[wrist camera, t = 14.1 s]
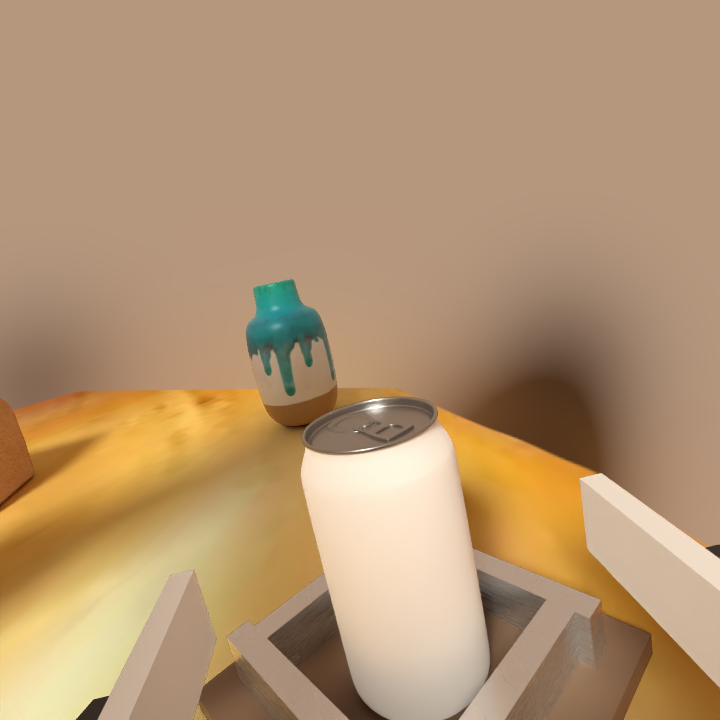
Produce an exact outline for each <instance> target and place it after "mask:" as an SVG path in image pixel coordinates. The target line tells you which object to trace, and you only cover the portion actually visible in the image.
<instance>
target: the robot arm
mask: <svg viewBox="0 0 720 720" xmlns="http://www.w3.org/2000/svg"><path fill="white" fill-rule="evenodd" d="M580 487H581V496H582V505H583V514H584V523H585V532H586V541H587V549H588V550H589V552H590V553H591V554H592V555H593V556H594V557H595V558H596V559H597V560H598V561H599V562H600V563H601V564H602V565H603V566H604V567H605V568H606V569H607V570H608V571H609V572H610V574H611V575H612V576H613V577H614V578H615V579H616V580H617V581H618V582H619V583H620V584H621V585H622V586H623V587H624V588H625V589H626V590H627V591H628V592H629V593H630V594H631V596H632V597H633V598H634V599H635V600H636V601H637V602H638V603H639V604H640V605H641V606H642V607H643V608H644V609H645V610H646V611H647V612H648V613H649V614H650V615H651V616H652V618H653V619H654V620H655V621H656V622H657V623H658V624H659V625H660V626H661V627H662V628H663V629H664V630H665V631H666V632H667V633H668V634H669V635H670V636H671V637H672V638H673V640H674V641H675V642H676V643H677V644H678V645H679V646H680V647H681V648H682V649H683V650H684V651H685V652H686V653H687V654H688V655H689V656H690V657H691V658H692V659H693V660H694V662H695V663H696V664H697V665H698V666H699V667H700V668H701V669H702V670H703V671H704V672H705V673H706V674H707V675H708V676H709V677H710V678H711V679H712V680H713V681H714V682H715V684H716V685H717V686H718V687H719V688H720V545H715V546H711V547H707V548H704V547H703V546H701V545H700V544H699V543H697V542H696V541H694V540H693V539H692V538H690V537H689V536H688V535H686V534H685V533H683V532H682V531H681V530H679V529H678V528H676V527H675V526H674V525H672V524H671V523H669V522H668V521H667V520H665V519H664V518H663V517H661V516H660V515H658V514H657V513H655V512H654V511H653V510H651V509H650V508H649V507H647V506H646V505H645V504H643V503H642V502H640V501H639V500H638V499H636V498H635V497H633V496H632V495H631V494H629V493H628V492H627V491H625V490H624V489H622V488H621V487H620V486H618V485H617V484H615V483H614V482H613V481H611V480H610V479H609V478H607V477H606V476H604V475H603V474H601V473H600V474H596V475H592V476H587V477H583V478H580ZM216 640H217V639H216V636H215V633H214V630H213V627H212V624H211V621H210V617H209V614H208V611H207V608H206V605H205V602H204V599H203V596H202V593H201V590H200V587H199V584H198V581H197V578H196V575H195V572H194V570H190V571H186V572H182V573H177V574H173V575H170V577H169V579H168V581H167V583H166V585H165V587H164V589H163V591H162V593H161V595H160V597H159V599H158V601H157V603H156V605H155V607H154V609H153V611H152V613H151V615H150V617H149V619H148V621H147V623H146V625H145V627H144V629H143V631H142V633H141V635H140V636H139V638H138V640H137V642H136V644H135V646H134V648H133V650H132V652H131V654H130V656H129V658H128V660H127V662H126V664H125V666H124V668H123V670H122V672H121V674H120V676H119V678H118V680H117V682H116V684H115V686H114V688H113V690H112V692H111V694H110V696H106V697H102V698H98V699H94V700H93V701H92V702H91V703H90V704H89V705H88V706H87V708H86V709H85V710H84V711H83V712H82V713H81V714H80V716H79V717H78V718H77V719H76V720H194V716H195V713H196V709H197V706H198V702H199V699H200V696H201V692H202V689H203V685H204V682H205V678H206V675H207V671H208V668H209V665H210V661H211V658H212V654H213V651H214V647H215V644H216Z"/></svg>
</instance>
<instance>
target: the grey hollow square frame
mask: <svg viewBox="0 0 720 720" xmlns="http://www.w3.org/2000/svg"><path fill="white" fill-rule="evenodd" d="M473 553H474V559H475V565H476V570H477V576H478V582H479V588H480V593H481V599H482V605H483V611H485V612H487V613H489V614H491V615H493V616H495V617H497V618H499V619H500V620H502V621H504V622H506V623H508V624H510V625H512V626H514V627H516V628H518V629H520V630H522V631H523V632H522V634H521V635H520V636H519V638H518V639H517V641H516V642H515V643H514V645H513V646H512V647H511V649H510V650H509V652H508V653H507V654H506V656H505V657H504V658H503V660H502V661H501V662H500V664H499V665H498V667H497V668H496V669H495V671H494V672H493V673H492V675H491V676H490V678H489V679H488V680H487V682H486V683H485V684H484V686H483V687H482V689H481V690H480V691H479V693H478V694H477V695H476V697H475V698H474V699H473V701H472V702H471V704H470V705H469V706H468V708H467V709H466V710H465V712H464V713H463V715H462V716H461V717H460V719H459V720H547V719H548V717H549V715H550V713H551V712H552V710H553V708H554V706H555V705H556V703H557V701H558V699H559V698H560V696H561V694H562V693H563V691H564V689H565V687H566V686H567V684H568V682H569V680H570V679H571V677H572V675H573V673H574V672H575V670H576V668H577V666H578V665H579V663H580V661H582V662H584V663H586V664H588V665H590V666H592V667H593V668H595V669H596V667H597V665H598V663H599V661H600V659H601V657H602V656H603V654H604V652H605V650H606V641H605V632H604V623H603V613H602V604H601V600H600V599H597V598H595V597H593V596H590V595H588V594H585V593H583V592H580V591H578V590H575V589H573V588H570V587H568V586H565V585H563V584H560V583H558V582H555V581H553V580H550V579H548V578H545V577H543V576H540V575H538V574H535V573H533V572H530V571H528V570H525V569H523V568H521V567H518V566H516V565H513V564H511V563H508V562H506V561H503V560H501V559H498V558H496V557H493V556H491V555H488V554H486V553H483V552H481V551H478V550H476V549H473ZM338 630H339V628H338V624H337V620H336V616H335V612H334V609H333V605H332V601H331V597H330V593H329V589H328V585H327V581H326V578H325V574H324V573H323V574H322V575H320V576H319V577H318V578H317V579H315V580H314V581H313V582H311V583H310V584H309V585H307V586H306V587H305V588H303V589H302V590H301V591H299V592H298V593H297V594H296V595H294V596H293V597H292V598H290V599H289V600H288V601H286V602H285V603H284V604H282V605H281V606H280V607H279V608H277V609H276V610H275V611H273V612H272V613H271V614H269V615H268V616H267V617H265V618H264V619H263V620H261V621H260V622H259V623H258V624H256V625H255V626H254V625H253V624H252V623H251V622H250V621H249V620H248V621H247V622H245V623H244V624H243V625H241V626H240V627H239V628H237V629H236V630H235V631H233V632H232V633H231V634H229V635H228V636H227V640H228V644H229V647H230V650H231V653H232V656H233V659H234V662H235V665H236V668H237V672H238V675H239V678H240V680H241V681H242V682H243V684H244V685H245V686H246V687H247V689H248V690H249V691H250V692H251V694H252V695H253V696H254V697H255V698H256V700H257V701H258V702H259V703H260V705H261V706H262V707H263V708H264V710H265V711H266V712H267V713H268V715H269V716H270V717H271V718H272V720H349V719H348V718H347V717H346V716H345V715H344V714H343V713H342V712H341V711H340V710H339V709H338V708H337V707H336V706H335V705H334V704H333V703H332V702H331V701H330V700H329V699H328V698H327V697H326V696H325V695H324V694H323V693H322V692H321V691H320V690H319V689H318V688H317V687H316V686H315V685H314V684H313V683H312V682H311V681H310V680H309V679H308V678H307V677H306V676H305V675H304V674H302V673H301V672H300V671H299V670H298V669H297V668H296V667H297V666H298V665H299V664H300V663H302V662H303V661H304V660H305V659H306V658H307V657H308V656H309V655H311V654H312V653H313V652H314V651H315V650H316V649H317V648H318V647H320V646H321V645H322V644H323V643H324V642H325V641H326V640H327V639H329V638H330V637H331V636H332V635H333V634H334V633H335V632H336V631H338Z"/></svg>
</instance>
